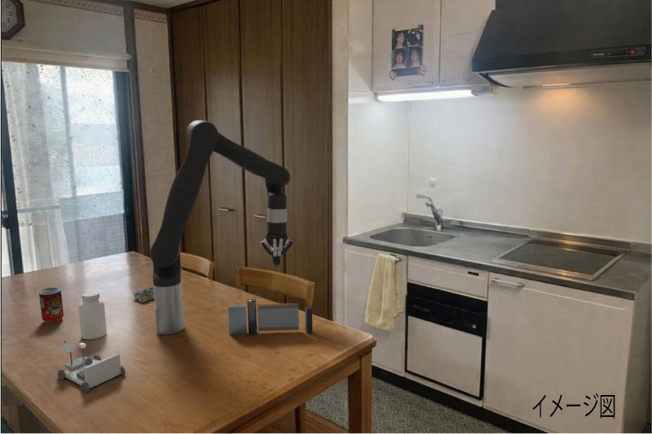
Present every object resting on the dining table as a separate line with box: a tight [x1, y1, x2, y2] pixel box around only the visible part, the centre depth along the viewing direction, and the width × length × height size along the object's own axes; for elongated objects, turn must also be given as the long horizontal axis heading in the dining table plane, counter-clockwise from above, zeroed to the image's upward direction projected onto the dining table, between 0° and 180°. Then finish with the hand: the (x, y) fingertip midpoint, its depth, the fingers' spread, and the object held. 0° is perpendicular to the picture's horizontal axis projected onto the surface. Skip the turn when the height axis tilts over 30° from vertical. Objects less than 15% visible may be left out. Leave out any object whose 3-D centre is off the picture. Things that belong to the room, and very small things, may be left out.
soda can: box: [38, 286, 64, 325], centre depth 175 cm, size 7×7×12 cm
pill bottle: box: [78, 291, 107, 340], centre depth 162 cm, size 8×8×15 cm
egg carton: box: [132, 285, 154, 303], centre depth 200 cm, size 11×8×4 cm
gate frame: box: [227, 298, 314, 336], centre depth 164 cm, size 29×3×12 cm, turn 92°
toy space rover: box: [57, 340, 126, 394], centre depth 136 cm, size 18×10×12 cm
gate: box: [257, 302, 300, 332], centre depth 164 cm, size 14×1×9 cm, turn 94°
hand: (276, 265), depth 180 cm, fingers closed
